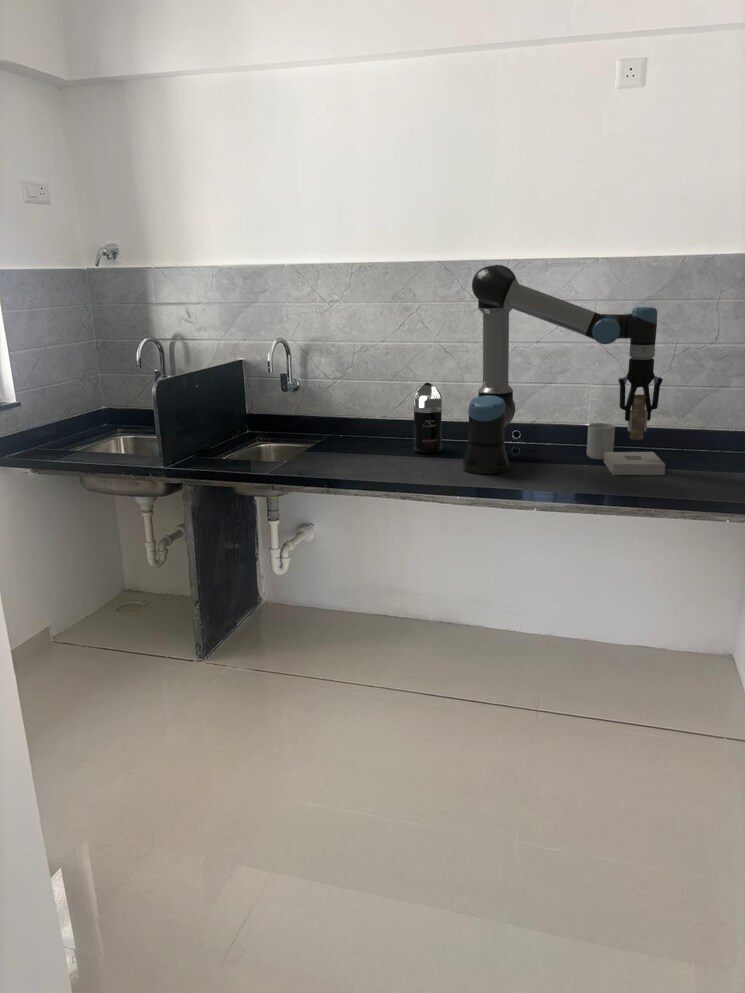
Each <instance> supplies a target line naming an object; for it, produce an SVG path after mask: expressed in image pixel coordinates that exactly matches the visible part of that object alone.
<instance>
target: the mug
mask: <svg viewBox="0 0 745 993" xmlns="http://www.w3.org/2000/svg"><path fill="white" fill-rule="evenodd" d="M615 432H616V426H615V425H614V424H612V423H606V422H605V423H604V422H603V423H601V422H596V423H589V424H588V426H587V438H586V439H587V441H586V455H587V456H588V458H589V459H592V460H596V461H604V452H614V450H615V449H614V448H615V447H614V446H615Z"/></svg>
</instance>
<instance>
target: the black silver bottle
mask: <svg viewBox="0 0 745 993" xmlns="http://www.w3.org/2000/svg"><path fill="white" fill-rule="evenodd" d="M441 394H442V393H441V392H440V391H439V389H438V388H437V387H435V386H434V385H433V384H432V383H430V382H425V383H424V384H422V386H420V387H419V388H418V389H417V390H416V391H415V392H414V395H413V437H414V438H413V444H414V446H413V448H414V451H416V452H417V453H420V454H426V453H429V454H435V453H438V452H440V451H441V450H442V438H443V437H442V435H443V434H442V427H443V426H442V422H443V421H442V410H443V405H442V404H443V401H442V400H443V396H442V395H441Z"/></svg>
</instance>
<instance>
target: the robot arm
mask: <svg viewBox="0 0 745 993" xmlns="http://www.w3.org/2000/svg"><path fill="white" fill-rule="evenodd" d="M471 288H472V290H471V291H472V292H473V295H474V297H475V298H476V299H477V301H478V302H477V305H478V306H477V307H478V310H479V311H480V312H481V313H482V385H481V387H480V388H479V389H478V395H477V397H474V398H472V399H471V400H470V402H469V404H468V410H467V411H468V444H467V445H468V446H467V449H466V451H465V455H464V458H463V462H462V469H463V471H465V472H468V473H472V474H479V475H495V474H496V475H497V474H502V473H504V472H508V471H509V468H510V462H509V458H508V455H507V452H506V448H505V427H507V426H508V425H509V424H510V423H511V422H512V421H513V419H514V416H515V414H516V404H515V402H514V389H513V388H512V387H511V386H510V385H509V372H510V371H509V369H510V368H509V365H510V364H509V363H510V362H509V359H510V356H509V355H510V352H509V350H510V349H509V348H510V342H509V341H510V312H511V311H512V310H514V311H518V312H521V313H523V314H526V315H529V316H531V317H534V318H536V319H539V320H542V321H544V322H548V323H550V324H553V325H555V326H558V327H561V328H563V329H566V330H570V331H572V332H574V333H576V334H580V335H582V336H585V337H587V338H590V339H592V340H593V341H594V340H595V342H597V343H598V344H601V345H610V344H612V343H614V342H616V340H618V339H625V340H626V339H630V342H629V357H630V358H629V360H628V371H627V373H626V376H624V377H619V378H618V379H617V380H618V383H619V408H620V409H621V410H623V411H624V412H625V413H624V420H625V421H626V422H627V428H626V429H627V431H628V432H629V433H630V432H632V417H633V411H632V403H633V399H634V396H635V395H636V391H637V389H638V388H642V390H643V395H645V396H646V401H645V415H644V429H643V432H647V430H648V429H647V426H648V421H651V416H652V411H654V410H656V409H658V406H659V398H660V389H661V385H662V382H663V380H664V379H663V378H662V377H660V376H656V375H655V373H654V368H655V359H654V357H655V354H656V353H655V352H656V341H657V340H656V338H657V329H658V328H657V326H658V310H657V308H656V307H653V306H651V307H649V306H644V307H643V306H642V307H641V306H640V307H639V306H637V307H633V309H632V310H631V313H627V314H622V313H621V314H619V313H618V314H615V313H613V314H612V313H610V314H607V313H600V312H599V313H598V312H595V311H594V310H593V311H592V310H591V309H587V308H585V307H582V306H579V305H577V304H575V303H571V302H568V301H567V300H564V299H560V298H559V297H556V296H553V295H550V294H548V293H545V292H542V291H539V290H536V289H534V288H532V287H531V288H530V287H528V286H525V285H523V284H520V283H519V282H518V279H517V277H516V275H515V273H514V272H513V271H512V270H511V268H509V267H508V266H505V265H502V264H500V265H499V264H493V265H487V266H484V267H482V268H480V269H479V270H478V271H477V272H476V273H475V274H474V276H473V277H472V282H471ZM627 381H628V382H629V384H630V390H629V393H628V397H627V400H626V384H627ZM652 381H653V383H654V384H653V391H652V392H653V393H652V401H651V395H650V384H651V383H652Z"/></svg>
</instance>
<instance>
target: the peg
mask: <svg viewBox="0 0 745 993" xmlns="http://www.w3.org/2000/svg"><path fill="white" fill-rule="evenodd" d="M645 401H646V396H645V395H644V394H638V393H635V396H634V399H633V403H632V406H631V411H633V417H632V432H629V439H631V440H635V441H636V440H637V441H638V440H639V441H641V440H644V439H643V438H644V431H643V429H644V415H645V410H646V405H645Z"/></svg>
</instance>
